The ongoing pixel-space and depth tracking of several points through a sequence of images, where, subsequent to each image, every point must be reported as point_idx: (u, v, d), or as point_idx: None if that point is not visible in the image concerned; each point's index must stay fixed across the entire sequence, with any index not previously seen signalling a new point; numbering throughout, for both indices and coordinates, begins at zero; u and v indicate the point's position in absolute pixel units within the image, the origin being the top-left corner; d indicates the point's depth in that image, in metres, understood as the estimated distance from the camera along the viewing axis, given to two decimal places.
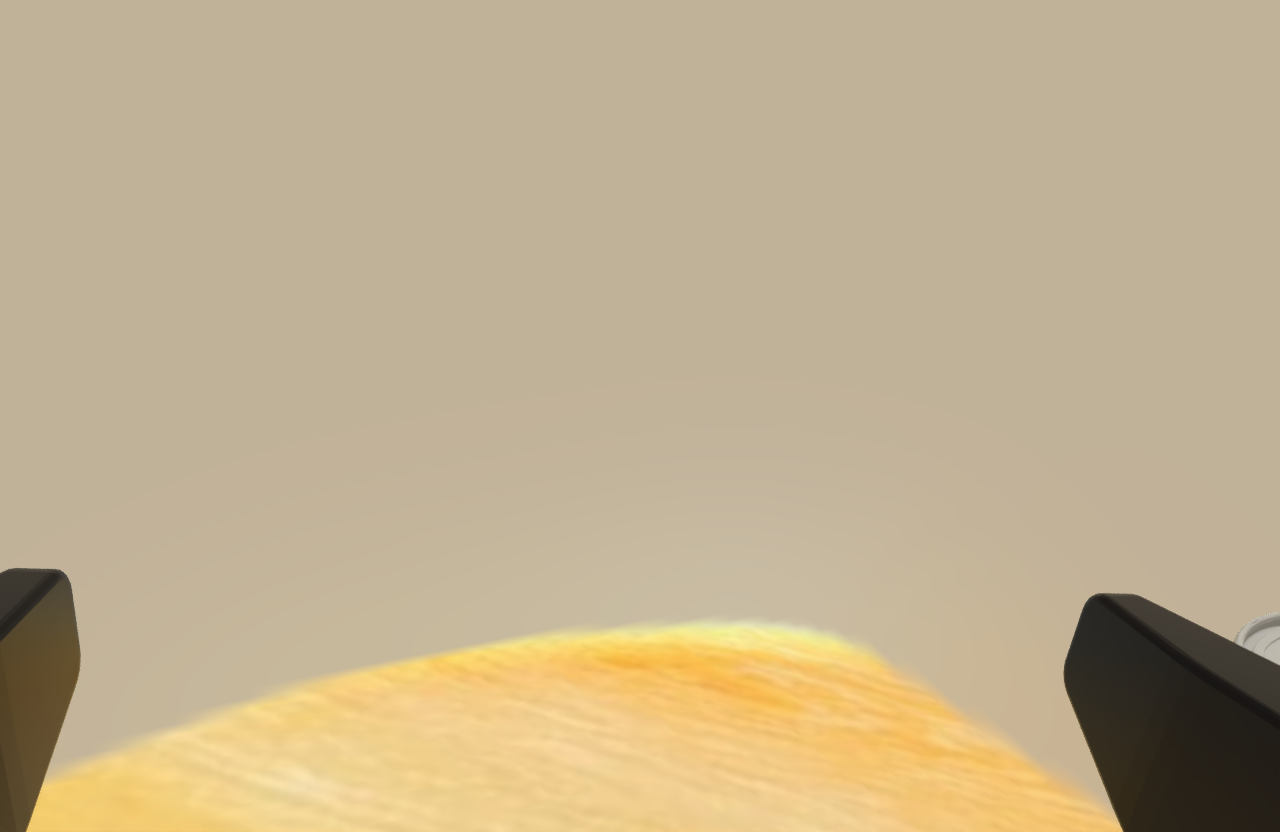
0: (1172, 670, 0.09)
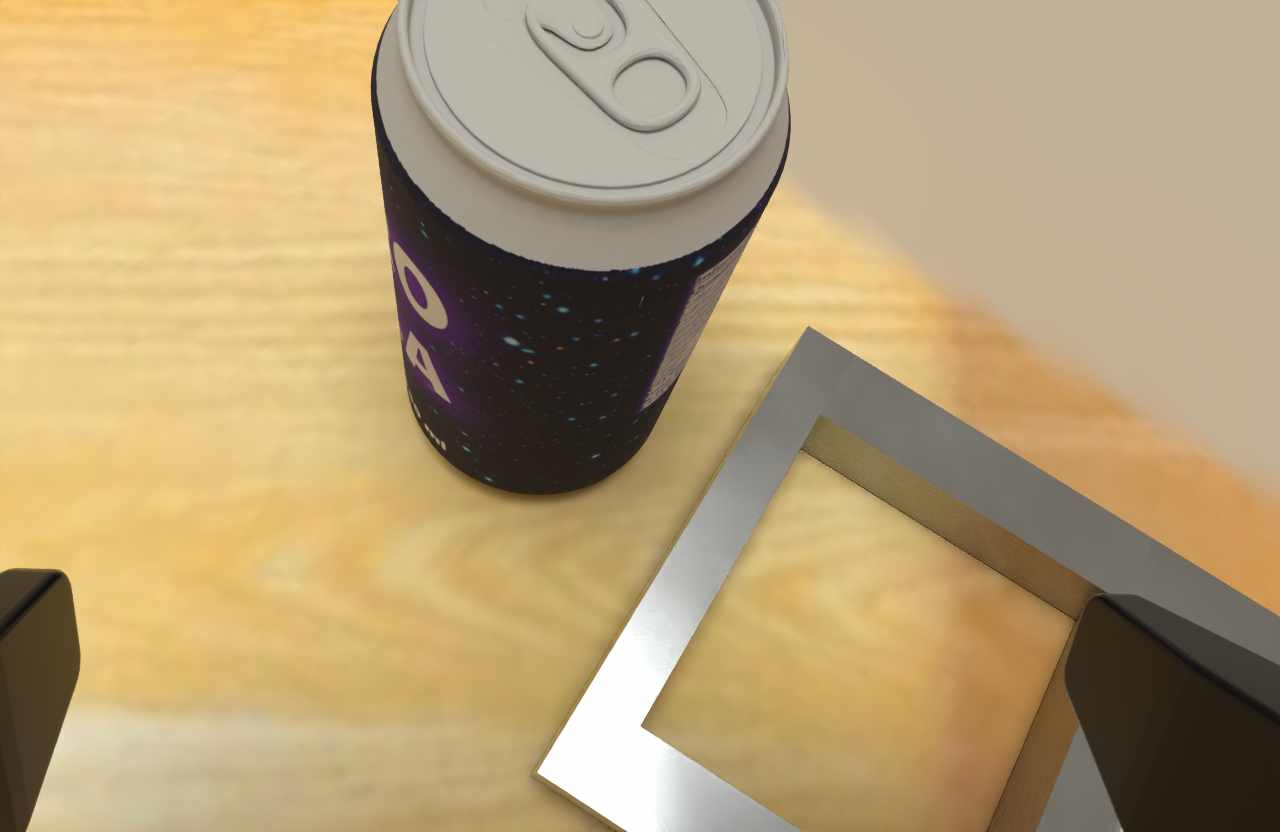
0: (1172, 670, 0.09)
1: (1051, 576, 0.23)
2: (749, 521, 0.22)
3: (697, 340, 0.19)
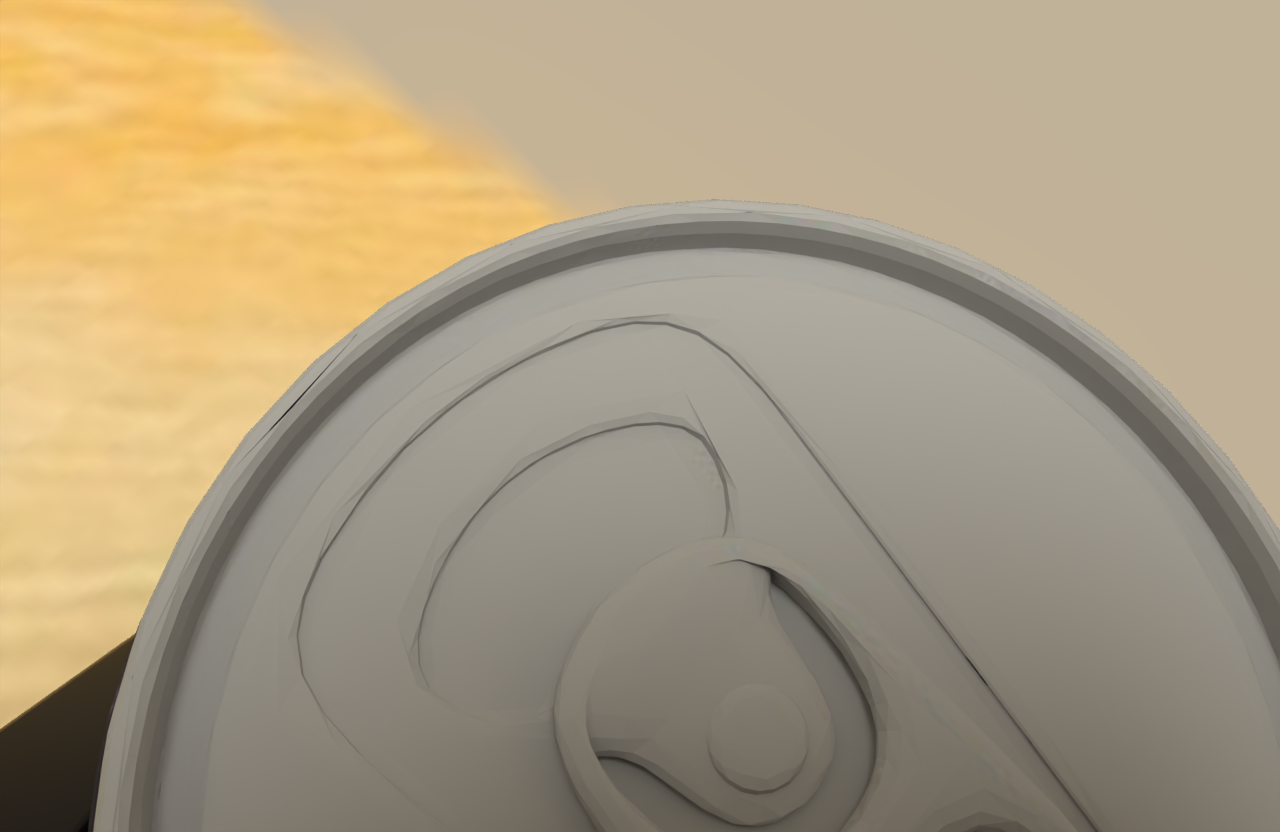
0: None
1: None
2: None
3: None
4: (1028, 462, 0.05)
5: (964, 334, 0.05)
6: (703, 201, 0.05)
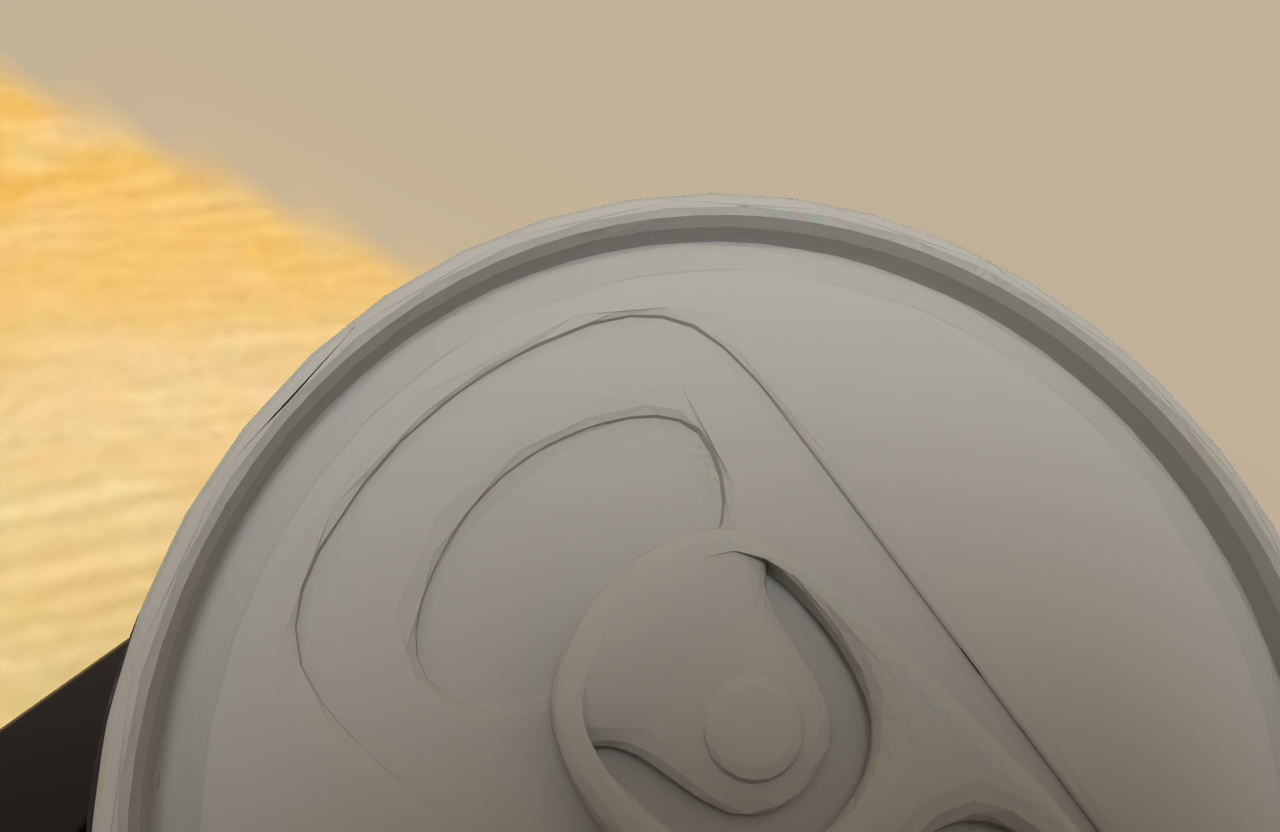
0: None
1: None
2: None
3: None
4: (1022, 454, 0.05)
5: (958, 327, 0.05)
6: None
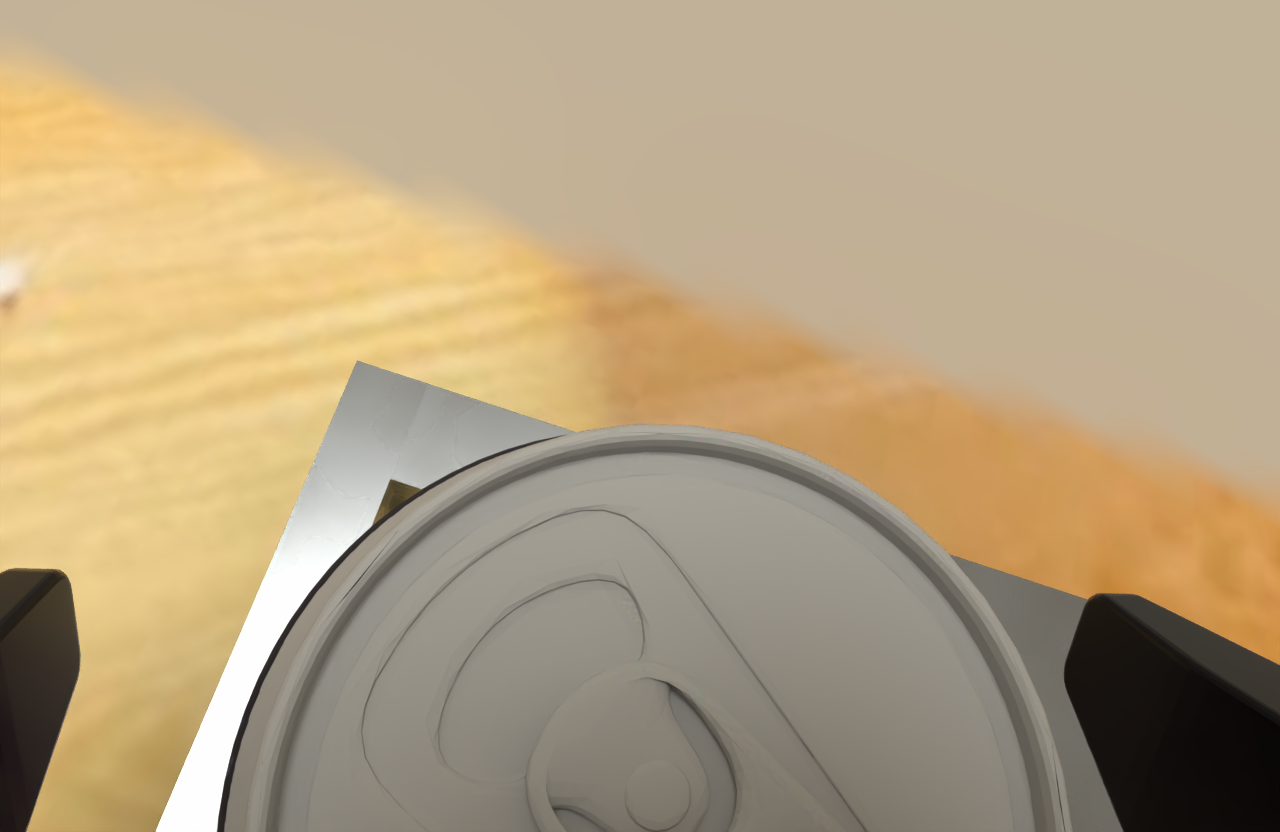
0: (1172, 670, 0.09)
1: None
2: None
3: None
4: (849, 602, 0.07)
5: (810, 510, 0.07)
6: (627, 425, 0.07)
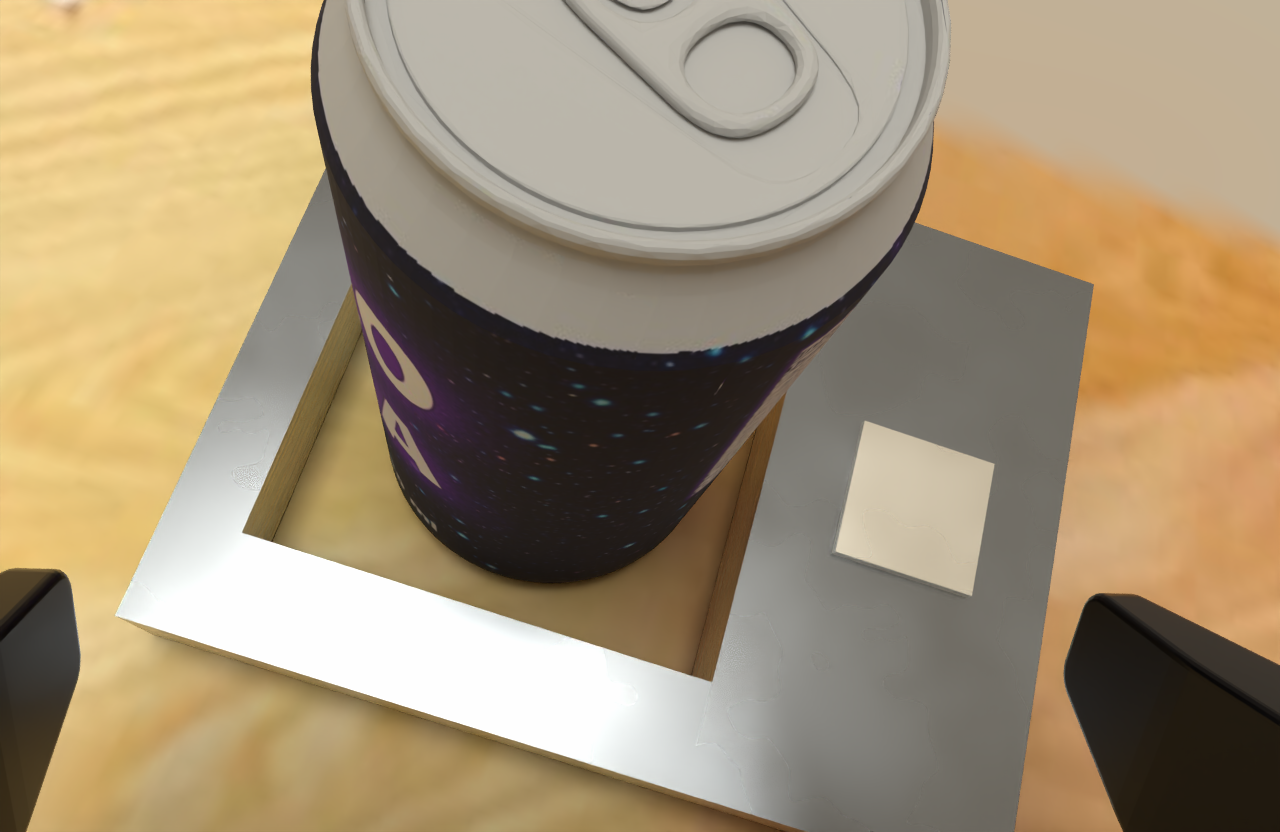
0: (1172, 670, 0.09)
1: None
2: (346, 272, 0.18)
3: None
4: None
5: None
6: None
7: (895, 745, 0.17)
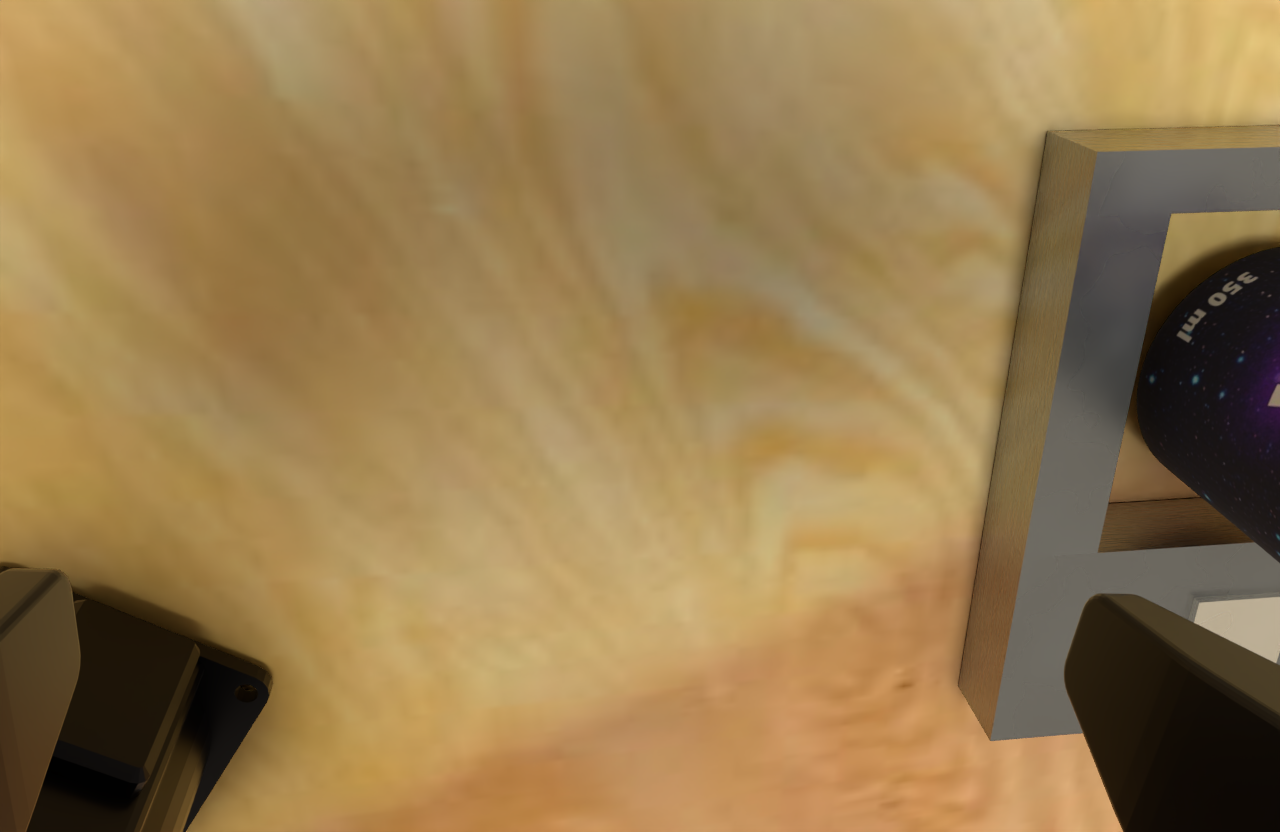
0: (1172, 670, 0.09)
1: None
2: None
3: None
4: None
5: None
6: None
7: None
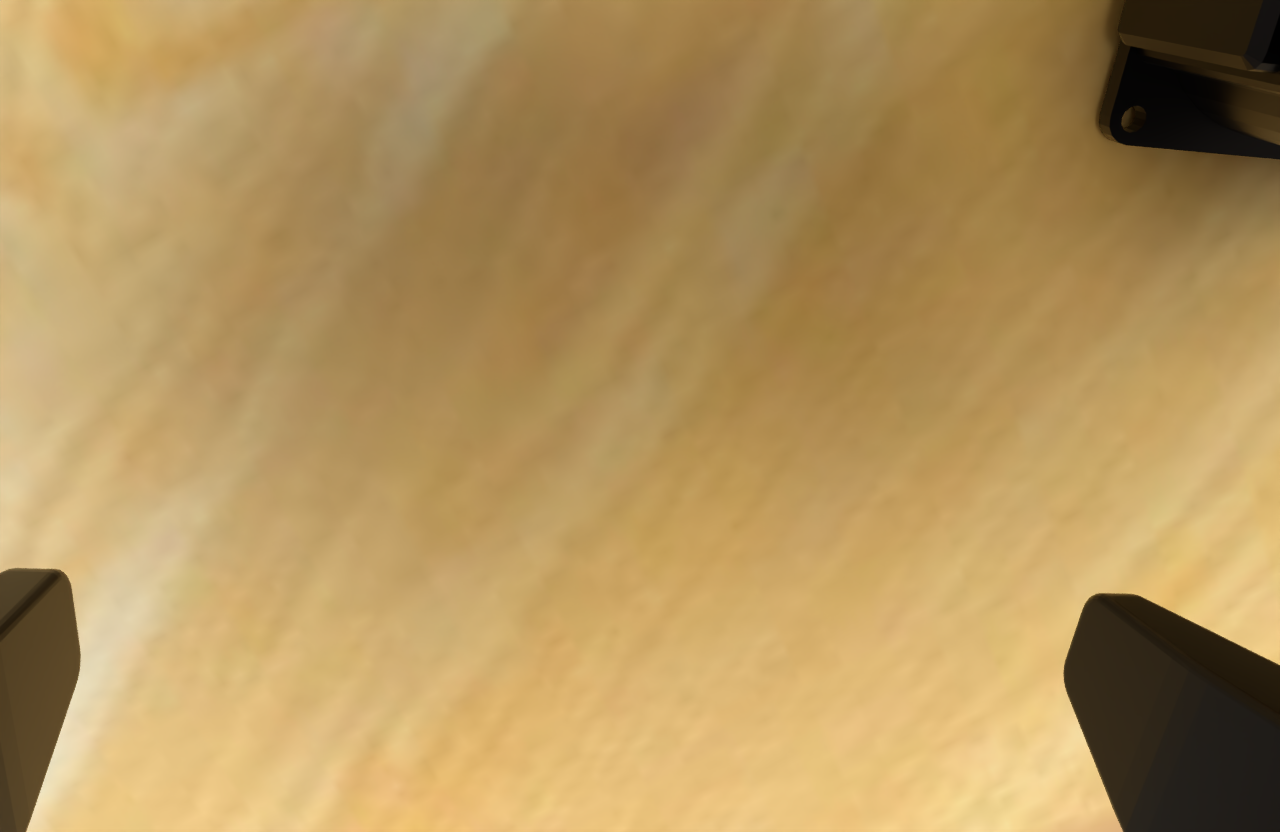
0: (1172, 670, 0.09)
1: None
2: None
3: None
4: None
5: None
6: None
7: None
